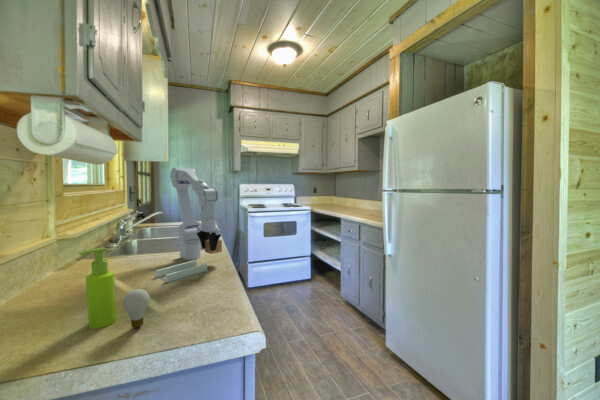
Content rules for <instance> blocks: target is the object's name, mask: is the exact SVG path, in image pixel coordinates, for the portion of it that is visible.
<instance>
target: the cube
mask: <svg viewBox="0 0 600 400" xmlns="http://www.w3.org/2000/svg"><path fill="white" fill-rule="evenodd" d="M222 246H223V240H222V239H219V240H218V243H217V247H216V250H214V251H211V250H210V244H209V239H208V240H205V249H204V252H205V253H207V254H210V255H213V254H218V253H221V252H223V247H222Z"/></svg>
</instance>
